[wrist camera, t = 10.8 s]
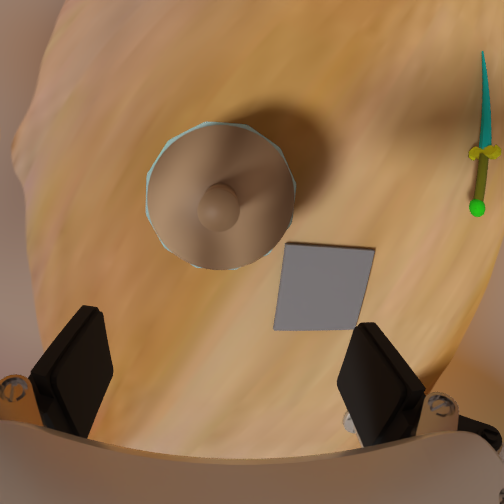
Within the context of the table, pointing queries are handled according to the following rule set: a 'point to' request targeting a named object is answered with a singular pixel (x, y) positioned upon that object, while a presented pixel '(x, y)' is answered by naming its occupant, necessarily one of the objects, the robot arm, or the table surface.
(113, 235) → the table surface
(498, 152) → the toy sword
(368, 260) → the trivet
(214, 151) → the lid
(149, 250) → the table surface
